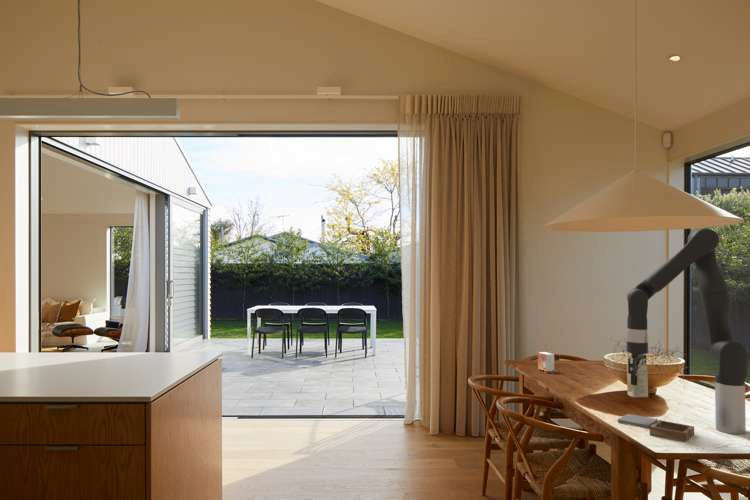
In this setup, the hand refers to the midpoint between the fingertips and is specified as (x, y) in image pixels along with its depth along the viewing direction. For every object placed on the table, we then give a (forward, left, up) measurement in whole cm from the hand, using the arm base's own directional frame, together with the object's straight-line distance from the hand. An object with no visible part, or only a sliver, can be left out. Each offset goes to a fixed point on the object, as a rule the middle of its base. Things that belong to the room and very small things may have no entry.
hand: (637, 383), depth 207 cm
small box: (-72, -72, -15) cm, 103 cm away
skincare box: (0, 0, -5) cm, 5 cm away
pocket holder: (+8, +14, -15) cm, 22 cm away
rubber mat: (0, 0, -15) cm, 15 cm away
